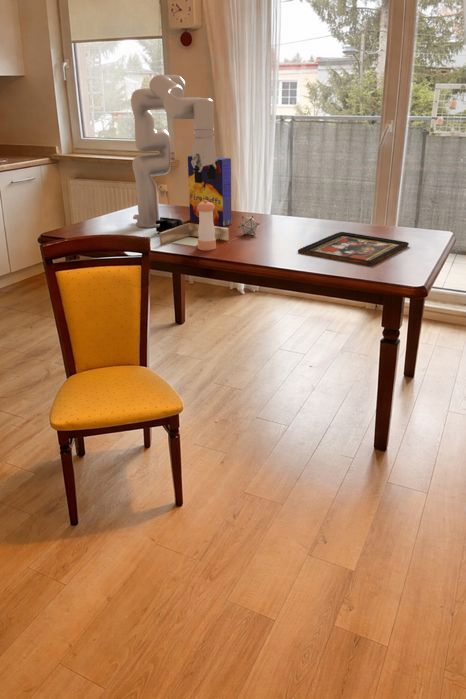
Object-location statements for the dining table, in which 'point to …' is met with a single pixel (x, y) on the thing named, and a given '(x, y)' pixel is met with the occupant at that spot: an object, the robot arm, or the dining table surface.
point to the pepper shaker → (206, 226)
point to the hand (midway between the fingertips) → (205, 180)
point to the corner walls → (190, 233)
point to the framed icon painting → (354, 248)
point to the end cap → (167, 224)
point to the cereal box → (212, 191)
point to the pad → (188, 241)
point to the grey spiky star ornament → (248, 225)
